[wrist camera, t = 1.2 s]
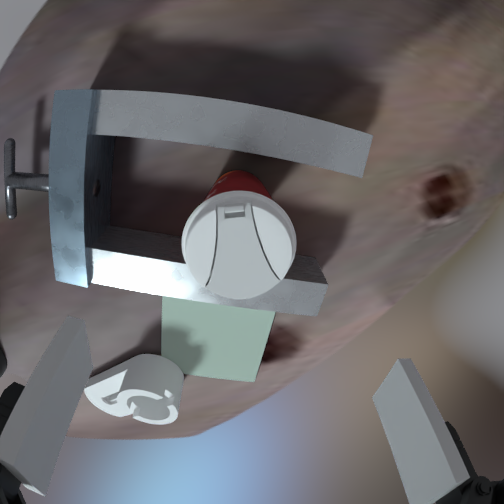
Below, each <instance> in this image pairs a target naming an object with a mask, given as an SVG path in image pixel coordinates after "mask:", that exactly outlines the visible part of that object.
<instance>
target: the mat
mask: <svg viewBox="0 0 504 504" xmlns="http://www.w3.org/2000/svg"><path fill="white" fill-rule="evenodd" d="M274 316H275V312H273V311H265V310H257V309H249V308H241V307H234V306H227V305H219V304H213V303H206V302H199V301H193V300H186V299H180V298H174V297H168V296H163V301H162V334H161V356H162V357H164V358H167V359H169V360H170V361H172V362H174V363H175V364H176V365H177V366H178V367H179V368H180V369H181V371H182V372H183V374H189V375H196V376H204V377H211V378H219V379H228V380H238V381H248V382H254V381H255V378H256V375H257V372H258V368H259V365H260V362H261V359H262V356H263V352H264V349H265V346H266V342H267V339H268V336H269V333H270V329H271V326H272V322H273V319H274Z"/></svg>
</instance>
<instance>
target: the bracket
mask: <svg viewBox="0 0 504 504" xmlns="http://www.w3.org/2000/svg"><path fill="white" fill-rule="evenodd" d="M183 382H184V375H183V372H182V371H181V369H180V368H179V367H178V366H177V365H176V364H175V363H174V362H172V361H170V360H169V359H167V358H164V357H162V356H158V355H154V354H140V355H137V356H135V357H133V358H131V359H129V360H127V361H125V362H123V363H121V364H119V365H117V366H114V367H112V368H110V369H108V370H106V371H104V372H102V373H100V374H98V375H96V376H93V377H91V378H89V380H88V382H87V384H86V387H85V389H84V391H85V394H86V396H87V398H88V399H89V400H90V401H91V402H92V403H93V404H94V405H95V406H96V407H98V408H99V409H101V410H103V411H104V412H106V413H109V414H111V415H114V416H118V417H123V416H126V415H130V414H133V418H135V419H137V420H140V421H142V422H146V423H150V424H168V423H171V422H173V421H175V420H176V418H177V416H178V411H179V405H180V399H181V393H182V388H183Z"/></svg>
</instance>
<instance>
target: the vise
mask: <svg viewBox="0 0 504 504" xmlns="http://www.w3.org/2000/svg"><path fill="white" fill-rule="evenodd" d="M115 136H125V137H137V138H147V139H157V140H166V141H175V142H183V143H190V144H198V145H205V146H211V147H218V148H224V149H231V150H236V151H242V152H248V153H254V154H259V155H264V156H269V157H274V158H279V159H284V160H289V161H294V162H298V163H303V164H307V165H312V166H316V167H320V168H325V169H329V170H333V171H337V172H341V173H345V174H349V175H353V176H356V177H360V178H362V176H363V172H364V169H365V165H366V161H367V157H368V153H369V149H370V145H371V141H372V137H373V135H370V134H367V133H364V132H361V131H358V130H354V129H351V128H348V127H344V126H341V125H337V124H334V123H330V122H327V121H323V120H319V119H315V118H311V117H307V116H303V115H299V114H295V113H291V112H286V111H282V110H277V109H272V108H267V107H262V106H257V105H252V104H246V103H241V102H235V101H228V100H222V99H215V98H208V97H200V96H192V95H183V94H173V93H161V92H147V91H128V90H93V89H85V90H56V91H55V94H54V102H53V110H52V120H51V132H50V149H49V174H37V173H23V172H15V140H14V139H12V138H9V139H7V140H6V142H5V144H4V181H5V200H6V213H7V217H8V218H9V219H14V218H15V217H16V216H17V206H16V189H26V190H35V191H45V192H49V213H50V230H51V242H52V252H53V261H54V269H55V277H56V280H57V281H61V282H65V283H70V284H74V285H79V286H84V287H88V286H89V285H90V283H91V282H92V283H97V284H102V285H107V286H112V287H117V288H123V289H128V290H133V291H139V292H144V293H150V294H156V295H162V296H168V297H174V298H180V299H186V300H193V301H199V302H206V303H213V304H219V305H227V306H234V307H241V308H249V309H257V310H265V311H273V312H281V313H290V314H299V315H309V316H317V314H318V312H319V309H320V306H321V304H322V301H323V298H324V295H325V293H326V290H327V287H328V283H327V281H326V279H325V276H324V274H323V272H322V270H321V268H320V266H319V264H318V262H317V260H316V258H315V257H309V256H303V255H296V254H295V257H294V260H293V262H292V264H291V266H290V268H289V270H288V272H287V273H286V275H285V277H284V278H283V279H282V280H280V282H279V283H278V284H276V285H275V286H274V287H273V288H271V289H270V290H268V291H267V292H265V293H263V294H261V295H258V296H256V297H253V298H248V299H232V298H226V297H223V296H220V295H218V294H215V293H213V292H211V291H209V290H207V289H206V288H204V287H203V286H201V285H200V284H199V283H198V282H197V280H196V279H195V278H194V276H193V275H192V273H191V271H190V270H189V268H188V267H187V265H186V262H185V260H184V257H183V253H182V237H181V236H174V235H168V234H161V233H155V232H148V231H142V230H135V229H129V228H122V227H116V226H110V206H111V183H112V168H113V156H114V145H115Z"/></svg>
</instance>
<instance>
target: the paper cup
mask: <svg viewBox="0 0 504 504" xmlns="http://www.w3.org/2000/svg"><path fill="white" fill-rule="evenodd" d="M296 243H297V241H296V233H295V230H294V226H293V224H292V222H291V220H290V218H289V216H288V215H287V214H286V212H285V211H284V210H283V209H282V208H281V207H280V206H279V205H278V204H277V203H275V202H274V201H273V199H272V198H271V196H270V195H269V193H268V192H267V190H266V188H265V187H264V186H263V184H262V183H261V181H260V180H259V179H258V178H257V177H256V176H254V175H253V174H251V173H249V172H246V171H240V170H237V171H231V172H228V173H226V174H224V175H222V176H221V177H220V178H219V179H218V180H217V181H216V182H215V184H214V185H213V187H212V188H211V190H210V191H209V193H208V195H207V196H206V198H205V200H204V202H203V203H202V204H200V205H199V206H198V207H197V208H196V209H195V210H194V211H193V212H192V214H191V215H190V217H189V218H188V220H187V222H186V225H185V227H184V230H183V234H182V253H183V257H184V260H185V262H186V265H187V267H188V268H189V270H190V271H191V273H192V275H193V276H194V278H195V279H196V280H197V282H198V283H199V284H200V285H201V286H203V287H204V288H206V289H207V290H209V291H211V292H213V293H215V294H218V295H220V296H223V297H226V298H232V299H248V298H253V297H256V296H258V295H261V294H263V293H265V292H267V291H268V290H270V289H271V288H273V287H274V286H275V285H276V284H278V283H279V282H280V280H282V279H283V278H284V277H285V275H286V273H287V272H288V270H289V268H290V266H291V264H292V262H293V260H294V257H295V252H296Z"/></svg>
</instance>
